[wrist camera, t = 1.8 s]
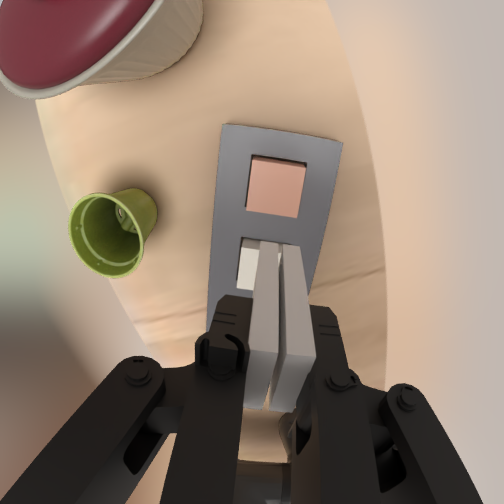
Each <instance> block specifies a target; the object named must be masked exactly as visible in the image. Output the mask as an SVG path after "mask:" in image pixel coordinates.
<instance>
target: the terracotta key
mask: <svg viewBox="0 0 504 504" xmlns="http://www.w3.org/2000/svg"><path fill="white" fill-rule="evenodd" d="M305 172H306V167H305V166H304V164H302V163H296V162H290V161H283V160H277V159H270V158H263V157H256V156H254V158H253V160H252V168H251V176H250V183H249V191H248V199H247V207H246V211H253V212H260V213H267V214H274V215H280V216H287V217H293V218H297V215H298V210H299V205H300V199H301V194H302V189H303V183H304V177H305Z"/></svg>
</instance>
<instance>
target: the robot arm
mask: <svg viewBox="0 0 504 504" xmlns="http://www.w3.org/2000/svg"><path fill="white" fill-rule="evenodd" d="M269 384H270V393H269V411H277V412H288V413H286V414H285V415H284V416H283V417H282V418H281V419H280V422H279V434H280V437H281V439H282V442H283V445H284V447H285V450H286V452H287V463H275V462H257V461H246V460H240V459H238V451H239V441H240V432H241V422H242V413H243V408H249V409H258V410H262V408H263V405H264V401H265V398H266V395H267V391H268V388H269ZM295 406H296V409H294V408H295ZM170 433H177V435H176V439H175V443H174V447H173V450H172V455H171V458H170V463H169V467H168V470H167V474H166V479H165V483H164V487H163V491H162V495H161V500H160V504H483V502H482V500H481V498H480V496H479V494H478V492H477V490H476V488H475V486H474V484H473V482H472V480H471V478H470V476H469V474H468V472H467V470H466V468H465V466H464V464H463V462H462V461H461V459H460V457H459V455H458V453H457V451H456V450H455V448H454V446H453V444H452V442H451V441H450V439H449V437H448V435H447V434H446V432H445V430H444V428H443V427H442V425H441V423H440V422H439V420H438V418H437V416H436V415H435V413H434V411H433V410H432V408H431V407H430V405H429V403H428V402H427V400H426V398H425V397H424V395H423V394H422V393H421V392H420V391H419V389H417V388H415V387H414V386H412V385H409V384H405V383H403V384H396V385H394V386H392V387H391V388H390V390H389V391H388V392H385V391H381V390H378V389H374V388H371V387H368V386H365V385H363V384H362V383H361V381H360V379H359V377H358V375H357V374H356V373H355V372H354V371H353V370H351V369H349V367H348V363H347V358H346V354H345V350H344V345H343V341H342V337H341V333H340V329H339V325H338V321H337V317H336V315H335V314H334V313H333V312H332V310H331V309H330V308H329V307H323V306H314V305H309V300H308V294H307V287H306V281H305V275H304V268H303V262H302V256H301V250H300V246H293V245H286V244H283V246H282V251H281V257H280V262H279V267H278V243H273V242H266V241H261V244H260V250H259V257H258V263H257V270H256V276H255V283H254V289H253V296H252V298H248V297H241V296H234V295H228V294H225V295H224V296H223V297H222V298H221V299H220V300H219V301H218V302H217V305H216V309H215V313H214V315H213V319H212V322H211V326H210V329H209V332H206V333H204V334H203V335H201V336H200V337H199V338H198V339H197V341H196V343H195V362H194V363H192V364H190V365H187V366H184V367H177V368H162V367H161V366H160V364H159V363H158V362H156V361H155V360H153V359H152V358H148V357H145V356H132V357H129V358H126V359H124V360H123V361H121V362H120V363H119V364H117V366H116V367H115V368H114V369H113V370H112V371H111V372H110V373H109V374H108V376H107V377H106V378H105V379H104V380H103V381H102V382H101V384H100V385H99V386H98V387H97V388H96V389H95V390H94V391H93V392H92V393H91V395H90V396H89V397H88V398H87V399H86V400H85V401H84V403H83V404H82V405H81V406H80V407H79V408H78V409H77V410H76V412H75V413H74V414H73V415H72V416H71V417H70V419H69V420H68V421H67V422H66V423H65V424H64V425H63V427H62V428H61V429H60V430H59V431H58V433H57V434H56V435H55V436H54V437H53V438H52V440H51V441H50V442H49V443H48V444H47V445H46V446H45V448H44V449H43V450H42V451H41V452H40V453H39V455H38V456H37V457H36V458H35V459H34V461H33V462H32V463H31V464H30V466H29V467H28V468H27V469H26V470H25V471H24V473H23V474H22V475H21V476H20V477H19V479H18V480H17V481H16V482H15V484H14V485H13V486H12V487H11V489H10V490H9V491H8V492H7V493H6V495H5V496H4V497H3V498H2V500H1V501H0V504H125V503H126V501H127V500H128V498H129V497H130V495H131V494H132V492H133V491H134V489H135V488H136V486H137V484H138V482H139V481H140V480H141V478H142V477H143V475H144V474H145V472H146V470H147V469H148V467H149V466H150V464H151V462H152V461H153V459H154V458H155V456H156V455H157V453H158V451H159V450H160V448H161V446H162V445H163V443H164V442H165V440H166V439H167V437H168V435H169V434H170Z"/></svg>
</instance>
